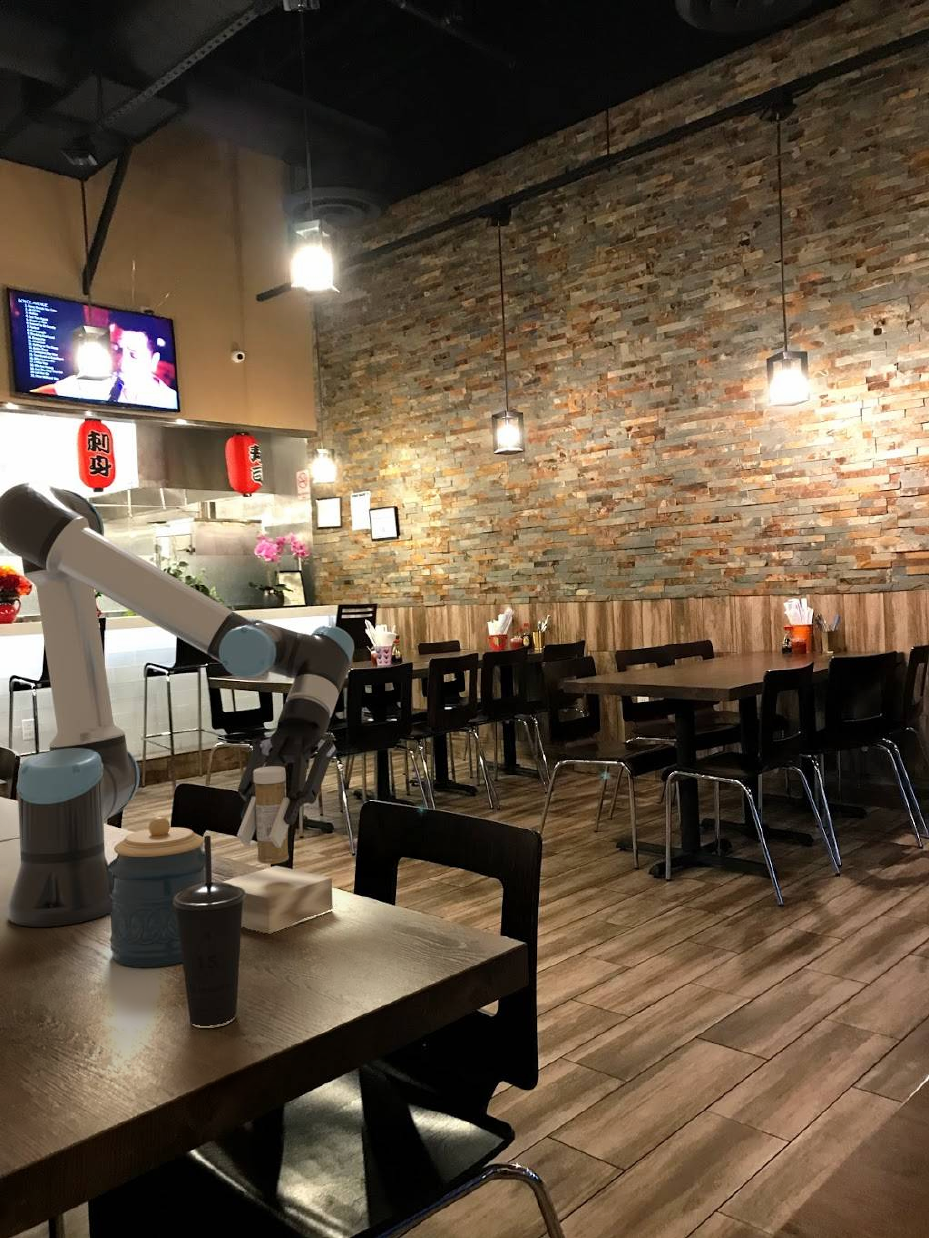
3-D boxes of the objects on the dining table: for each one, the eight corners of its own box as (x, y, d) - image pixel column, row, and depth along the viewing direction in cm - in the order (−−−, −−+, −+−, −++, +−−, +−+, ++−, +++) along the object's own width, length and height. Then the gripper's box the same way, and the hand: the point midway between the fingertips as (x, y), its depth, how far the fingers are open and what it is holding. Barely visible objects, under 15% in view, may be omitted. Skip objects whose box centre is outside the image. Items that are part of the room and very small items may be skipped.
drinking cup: (173, 1012, 110) (168, 832, 109) (243, 1000, 112) (238, 825, 112) (179, 1040, 102) (173, 848, 102) (253, 1027, 105) (248, 840, 105)
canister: (235, 944, 131) (231, 812, 131) (154, 977, 120) (150, 832, 120) (170, 928, 138) (166, 803, 138) (89, 957, 128) (84, 821, 127)
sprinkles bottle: (290, 855, 145) (287, 764, 145) (286, 864, 141) (283, 770, 140) (259, 857, 145) (255, 766, 145) (254, 865, 140) (250, 771, 140)
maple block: (269, 934, 134) (268, 898, 134) (213, 919, 142) (212, 884, 142) (332, 911, 144) (331, 877, 144) (276, 898, 151) (276, 865, 151)
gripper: (366, 725, 154) (324, 858, 139) (267, 725, 160) (215, 852, 144) (351, 695, 149) (305, 829, 134) (249, 695, 155) (193, 824, 139)
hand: (258, 841), depth 139 cm, fingers closed on sprinkles bottle, 4 cm apart
